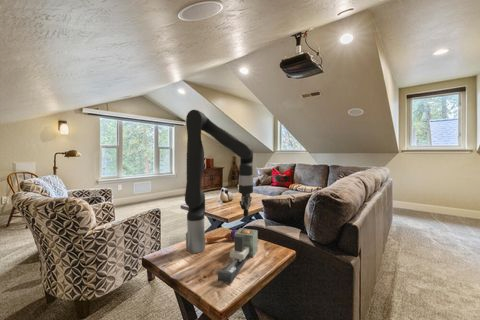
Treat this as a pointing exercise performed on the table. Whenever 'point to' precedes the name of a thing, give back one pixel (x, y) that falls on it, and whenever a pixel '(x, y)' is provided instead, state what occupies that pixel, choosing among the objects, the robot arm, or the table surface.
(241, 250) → the carriage
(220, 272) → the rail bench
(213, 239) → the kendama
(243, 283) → the table surface
